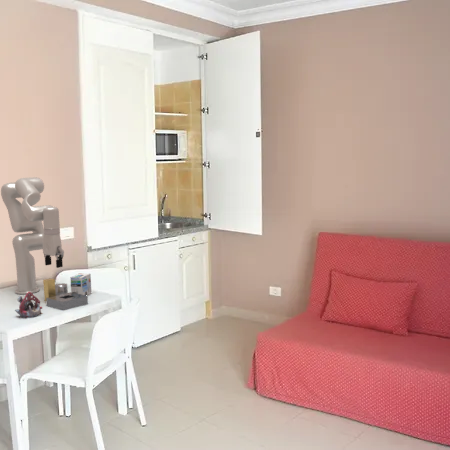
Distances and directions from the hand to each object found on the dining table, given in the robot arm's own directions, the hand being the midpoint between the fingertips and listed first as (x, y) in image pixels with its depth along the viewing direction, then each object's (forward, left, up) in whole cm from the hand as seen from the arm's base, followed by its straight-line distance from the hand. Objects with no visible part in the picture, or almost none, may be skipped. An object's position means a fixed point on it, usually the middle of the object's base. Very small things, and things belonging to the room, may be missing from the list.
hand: (53, 266), depth 275 cm
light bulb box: (-1, +16, -19) cm, 24 cm away
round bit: (-9, +9, -18) cm, 22 cm away
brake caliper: (+11, -21, -19) cm, 30 cm away
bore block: (+10, 0, -18) cm, 21 cm away
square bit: (-5, 0, -18) cm, 19 cm away
